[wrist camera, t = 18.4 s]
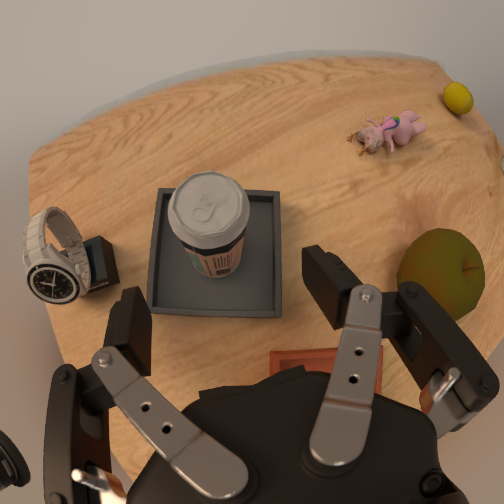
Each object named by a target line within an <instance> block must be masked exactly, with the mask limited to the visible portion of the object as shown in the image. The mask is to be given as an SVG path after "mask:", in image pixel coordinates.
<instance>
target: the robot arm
mask: <svg viewBox="0 0 504 504" xmlns="http://www.w3.org/2000/svg"><path fill="white" fill-rule="evenodd" d="M302 277H303V281H304V284H305V286H306V287H307V289H308V290H309V292H310V293H311V295H312V296H313V298H314V300H315V301H316V303H317V304H318V306H319V307H320V309H321V310H322V312H323V313H324V315H325V317H326V318H327V320H328V321H329V323H330V324H331V326H332V328H333V329H334V330H337V329H340V328H343V330H342V334H341V339H340V343H339V347H338V351H337V355H336V358H335V362H334V366H333V369H332V373H327V372H323V371H306V369H305V367H304V365H303V364H302V365H299V366H296V367H293V368H290V369H287V370H283V371H280V372H277V373H276V374H274V375H272V376H270V377H268V378H266V379H264V380H263V381H261V382H259V383H257V384H255V385H249V386H222V387H217V388H213V389H208V390H203V391H199V397H200V399H198V400H196V401H194V402H192V403H191V404H189V405H188V406H187V407H185V408H184V409H183V410H182V411H181V412H180V411H179V410H177V409H176V408H175V407H174V406H173V405H172V404H171V403H170V402H169V401H168V400H167V399H166V398H164V397H163V396H162V395H161V394H160V393H159V392H158V391H157V390H156V389H155V388H154V387H153V386H152V385H151V384H150V383H149V382H148V381H147V380H146V379H145V378H144V377H146V376H151V339H152V316H151V312H150V310H149V308H148V305H147V303H146V301H145V299H144V297H143V294H142V292H141V290H140V288H139V287H138V286H136V287H131V288H127V289H123V291H122V296H121V301H116V302H115V304H114V305H113V307H112V308H111V310H110V315H109V319H108V326H107V329H106V334H105V339H104V344H103V348H101V349H100V350H98V351H97V352H96V353H95V354H94V356H93V358H92V362H91V364H89V365H87V366H85V367H83V368H80V369H78V370H77V369H76V368H75V367H74V366H73V365H71V364H64V365H62V366H60V367H59V368H58V369H57V370H56V371H55V372H54V374H53V377H52V382H51V388H50V394H49V401H48V408H47V416H46V425H45V438H44V457H43V481H44V498H45V503H46V504H469V502H468V500H467V498H466V496H465V495H464V493H463V492H462V491H461V490H460V489H459V488H458V487H457V486H456V485H455V484H454V483H453V482H451V481H450V480H449V478H448V477H447V476H446V475H445V474H444V473H443V471H442V469H441V467H440V463H439V460H438V451H437V440H438V439H439V438H441V437H442V436H444V435H445V434H447V433H448V432H455V431H458V430H459V429H461V428H462V427H463V426H464V425H465V424H467V423H468V422H469V421H470V420H471V419H472V418H474V417H475V416H476V415H477V414H478V413H479V412H480V411H481V410H482V409H483V408H484V407H485V406H487V405H488V403H490V402H491V401H492V400H493V399H494V398H495V397H496V395H497V394H498V391H499V380H498V377H497V375H496V374H495V373H494V371H493V370H492V369H491V367H490V366H489V364H488V363H487V362H486V360H485V359H484V358H483V356H482V355H481V354H480V352H479V351H478V350H477V348H476V347H475V346H474V345H473V343H472V342H471V341H470V340H469V338H468V337H467V336H466V335H465V333H464V332H463V331H462V330H461V329H460V327H459V326H458V325H457V324H456V323H455V321H454V320H453V319H452V318H451V317H450V316H449V315H448V313H447V312H446V311H445V310H444V309H443V308H442V307H441V305H440V304H439V303H438V302H437V301H436V300H435V299H434V298H433V297H432V296H431V295H430V293H429V292H428V291H427V290H426V289H425V288H424V287H423V286H422V285H420V284H419V283H417V282H413V281H405V282H402V283H401V284H400V285H399V286H398V290H397V291H396V292H385V293H381V291H380V290H379V289H378V288H376V287H375V286H372V285H368V284H363V283H362V282H361V281H360V280H359V279H358V278H357V277H356V275H355V274H354V273H353V272H352V271H351V270H350V269H349V268H348V267H347V266H346V265H345V263H343V261H342V260H341V259H340V258H339V257H338V256H336V255H334V254H332V253H330V252H327V253H325V252H324V251H323V250H322V249H321V248H320V246H319V245H313V246H309V247H305V248H302ZM415 326H416V327H417V329H418V330H419V331H420V333H421V334H422V335H421V334H420V333H419V331H418V330H417V329H416V327H415ZM383 338H388V339H389V341H390V342H391V344H392V345H393V347H394V348H395V350H396V351H397V353H398V354H399V356H400V357H401V359H402V361H403V362H404V364H405V365H406V367H407V368H408V370H409V372H410V373H411V375H412V376H413V378H414V380H415V381H416V383H417V384H418V386H419V388H420V389H421V393H420V397H419V401H420V405H421V410H422V412H421V411H419V410H417V409H415V408H412V407H410V406H407V405H404V404H402V403H399V402H397V401H394V400H392V399H389V398H387V397H384V396H382V395H379V394H377V393H375V392H374V391H375V385H376V378H377V372H378V365H379V357H380V348H381V339H383ZM114 406H118V407H119V408H120V410H121V411H122V412H123V414H124V415H125V416H126V417H127V419H128V420H129V421H130V422H131V423H132V425H133V426H134V427H135V428H136V429H137V430H138V432H139V433H140V434H141V435H142V436H143V437H144V438H145V439H146V440H147V442H148V443H149V444H150V445H151V446H152V447H153V448H154V449H155V452H154V453H153V455H152V456H151V458H150V459H149V461H148V462H147V464H146V465H145V467H144V468H143V470H142V471H141V473H140V474H139V476H138V477H137V479H136V480H135V482H134V483H133V485H132V486H131V488H130V490H129V492H128V494H127V495H126V493H125V492H124V490H123V486H122V484H121V482H120V480H119V479H118V478H117V477H116V476H115V475H113V474H112V470H111V458H110V441H109V409H110V408H112V407H114ZM18 480H19V472H18V470H17V467H16V465H15V463H14V461H13V460H12V458H11V456H10V455H9V453H8V452H7V451H6V449H5V448H4V447H3V446H2V445H1V444H0V491H1V490H3V489H5V488H6V487H8V486H10V485H11V484H13V483H16V482H17V481H18Z"/></svg>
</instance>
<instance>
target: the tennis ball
mask: <svg viewBox="0 0 504 504" xmlns="http://www.w3.org/2000/svg"><path fill="white" fill-rule="evenodd" d="M443 99H444V102H445V104H446V106H447V107H448V108H449V109H450V110H451V111H452V112H454V113H456V114H461V115H462V114H466V113H468V112H469V111H470V110H471V109H472V106H473V97H472V94H471V92H470V91H469V90H468V89H467V88H466V87H465V86H464V85H463V84H461V83H458V82H452V83H449V84H448V85H447V86H446V87H445V88H444V91H443Z"/></svg>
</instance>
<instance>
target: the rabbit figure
mask: <svg viewBox="0 0 504 504" xmlns="http://www.w3.org/2000/svg"><path fill="white" fill-rule="evenodd" d="M419 118H420V116H419V115H418V114H417V113H416V112H414V111H404V112H402V113H401V115H395V116H385V117H384V119H383V125H382V126H381V125H380V124H379V123H377V122H376V121H374V120H372V119H370V118H366V121H368V122H371V123H373V124H374V125H375V126H376V127H374V126H367V127H364V128H362V129H360V130H359V131H356V132H355V133H354V134H351V135H350V136H348V137H347V138H349V140H351V142H352V137H353V136H354V135H357V139H358V140H359V141H361V142H364V143H365V145H364V147H365V148H364V149H363V148H362V150H360V151H359V153H360V155H361V157H362V155H363V154H362V153H363V152H364V150H366V151H367V152H369V153H373V152H375V151H377V150H378V149H379V148H380V147H381V145H382V143H383V142H388V143H389V145H390V147H391V149H390V152H391V153H392V154H393V153H394V143H393V140H394V142H396V143H397V144H399V145H406V144H407V143H408V141H409V139H410V137H411V136H412V135H418V134H421V133H422V132H424V131H425V130H426V128H427V125H426V123H423V122H416V123H412V124H411V122H414V121H416V120H418V119H419ZM349 140H348V141H349ZM360 155H359V156H360Z"/></svg>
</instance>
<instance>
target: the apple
mask: <svg viewBox="0 0 504 504" xmlns="http://www.w3.org/2000/svg"><path fill="white" fill-rule="evenodd" d="M405 281H413V282H417V283H419V284H420V285H422V286H423V287H424V288H425V289H426V290H427V291H428V292H429V293H430V295H431V296H432V297H433V298H434V299H435V300H436V301H437V302H438V303H439V304H440V305H441V307H442V308H443V309H444V310H445V311H446V312H447V313H448V315H449V316H450V317H451V318H452V319H453V320H454V321H457V320H458V319H460V318H461V317H463V316H464V315H466V314H467V313H469V312H470V311H472V310H473V309H475V307H476V305H477V303H478V301H479V299H480V297H481V295H482V292H483V290H484V287H485V272H484V266H483V262H482V259H481V256H480V254H479V252H478V250H477V249H476V247H475V246H474V245H473V244H472V243H471V242H470V241H469V240H468V239H467V238H466V237H465V236H464V235H463V234H461V233H460V232H457V231H454V230H451V229H441V228H437V229H433V230H430V231H426V232H425V233H424V234H423V235H421V236H420V237H419V238H417V239H416V240H415V241H414V242H413V243H412V244H411V246H410V247H409V248H408V249H407V251H406V252H405V255H404V257H403V259H402V261H401V264H400V267H399V270H398V272H397V287H398V286H399V285H400V284H401V283H402V282H405Z"/></svg>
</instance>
